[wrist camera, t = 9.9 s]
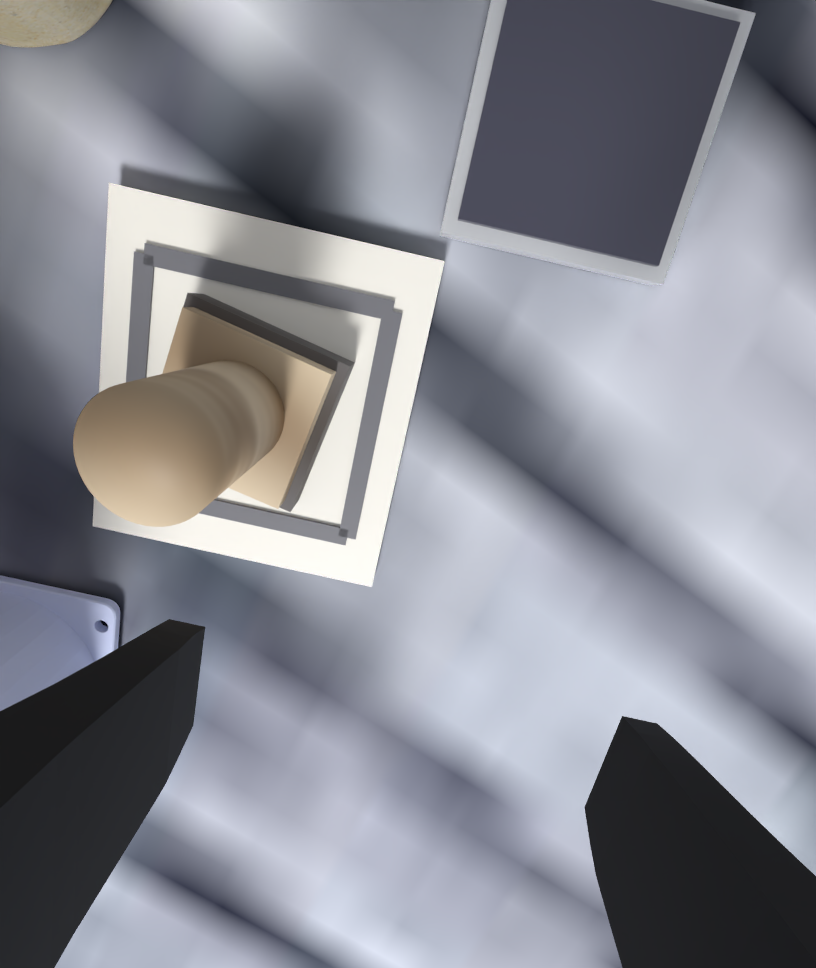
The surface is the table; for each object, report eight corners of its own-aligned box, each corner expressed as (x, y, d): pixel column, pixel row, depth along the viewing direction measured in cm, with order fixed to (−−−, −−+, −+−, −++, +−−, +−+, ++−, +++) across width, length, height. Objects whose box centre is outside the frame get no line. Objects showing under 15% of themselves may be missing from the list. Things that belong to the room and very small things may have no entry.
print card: (373, 579, 20) (371, 588, 20) (102, 519, 20) (90, 527, 19) (444, 263, 17) (444, 261, 16) (120, 187, 17) (106, 181, 16)
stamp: (299, 499, 19) (224, 604, 12) (158, 439, 18) (1, 513, 12) (354, 362, 17) (306, 395, 11) (204, 293, 17) (54, 283, 10)
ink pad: (651, 286, 17) (667, 283, 16) (439, 236, 17) (440, 230, 16) (736, 30, 15) (762, 6, 14) (497, -29, 15) (503, -58, 14)
